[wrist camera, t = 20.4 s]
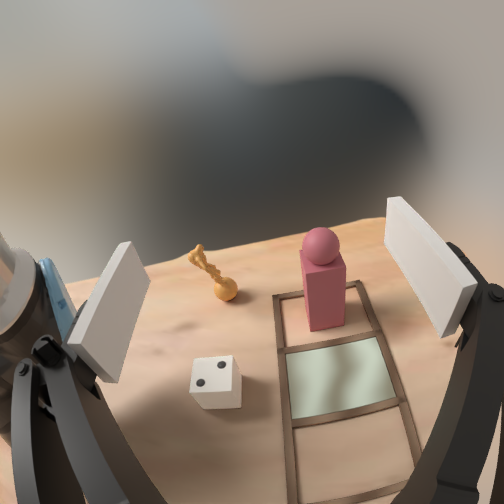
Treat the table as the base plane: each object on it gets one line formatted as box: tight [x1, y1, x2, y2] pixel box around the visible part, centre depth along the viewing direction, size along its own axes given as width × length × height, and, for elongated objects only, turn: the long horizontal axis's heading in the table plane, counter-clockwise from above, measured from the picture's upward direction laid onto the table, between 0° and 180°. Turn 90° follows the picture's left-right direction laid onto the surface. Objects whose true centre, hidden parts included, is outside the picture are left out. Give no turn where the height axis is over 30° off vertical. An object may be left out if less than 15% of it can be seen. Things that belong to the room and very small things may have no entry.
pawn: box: [299, 227, 346, 332], centre depth 36 cm, size 5×5×15 cm
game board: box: [272, 280, 422, 504], centre depth 31 cm, size 15×34×1 cm, turn 0°
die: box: [189, 355, 242, 409], centre depth 32 cm, size 5×5×5 cm
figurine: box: [188, 244, 238, 301], centre depth 45 cm, size 8×6×12 cm
